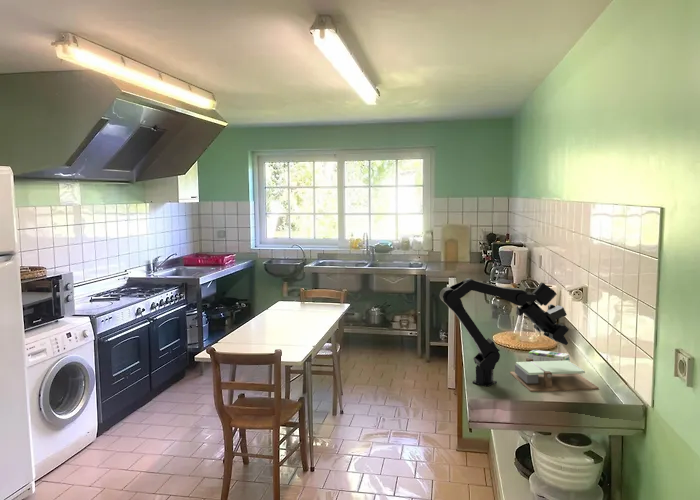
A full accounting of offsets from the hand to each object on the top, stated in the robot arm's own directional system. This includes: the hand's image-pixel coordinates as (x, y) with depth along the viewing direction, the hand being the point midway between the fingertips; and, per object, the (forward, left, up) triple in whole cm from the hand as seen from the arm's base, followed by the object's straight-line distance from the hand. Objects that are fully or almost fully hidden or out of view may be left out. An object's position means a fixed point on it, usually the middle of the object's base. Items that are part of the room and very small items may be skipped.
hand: (566, 343), depth 198 cm
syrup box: (+10, +20, -11) cm, 25 cm away
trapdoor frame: (-4, +3, -14) cm, 15 cm away
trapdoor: (-5, +4, -12) cm, 14 cm away
